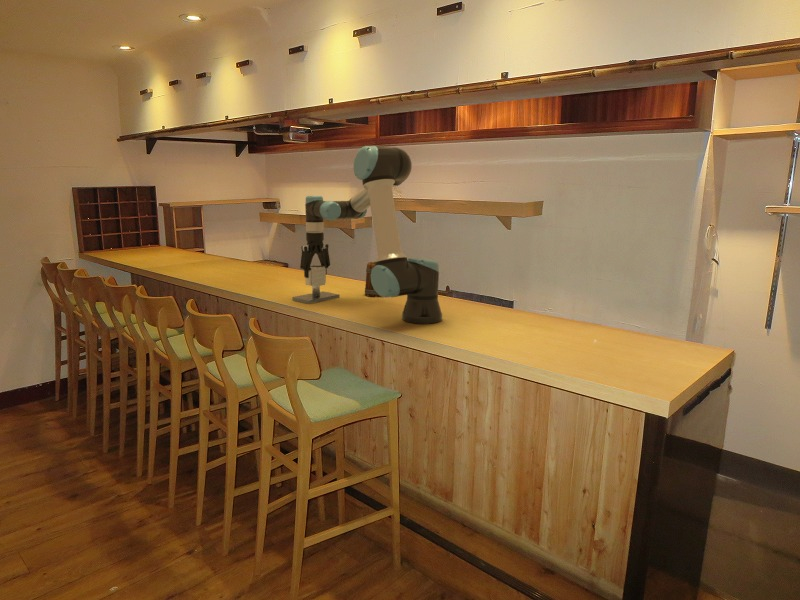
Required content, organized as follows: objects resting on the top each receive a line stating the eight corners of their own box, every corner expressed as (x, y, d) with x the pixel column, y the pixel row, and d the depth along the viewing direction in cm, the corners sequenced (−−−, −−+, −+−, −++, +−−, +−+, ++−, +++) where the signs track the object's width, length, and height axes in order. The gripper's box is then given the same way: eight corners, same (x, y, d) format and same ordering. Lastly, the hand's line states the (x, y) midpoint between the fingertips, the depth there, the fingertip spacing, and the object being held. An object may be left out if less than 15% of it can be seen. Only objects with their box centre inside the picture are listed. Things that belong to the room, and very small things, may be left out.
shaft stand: (339, 297, 240) (339, 275, 238) (309, 304, 226) (308, 280, 224) (322, 294, 247) (322, 273, 245) (292, 300, 233) (291, 277, 231)
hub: (328, 284, 236) (328, 266, 234) (315, 286, 230) (314, 268, 228) (316, 281, 241) (316, 264, 239) (303, 284, 235) (302, 266, 233)
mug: (361, 296, 244) (361, 263, 241) (369, 292, 254) (369, 260, 251) (393, 298, 239) (393, 265, 236) (400, 294, 249) (401, 262, 246)
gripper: (326, 230, 241) (327, 279, 245) (290, 232, 225) (291, 285, 230) (338, 231, 236) (338, 281, 241) (301, 233, 220) (303, 287, 225)
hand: (315, 283), depth 235 cm, fingers closed on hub, 8 cm apart
